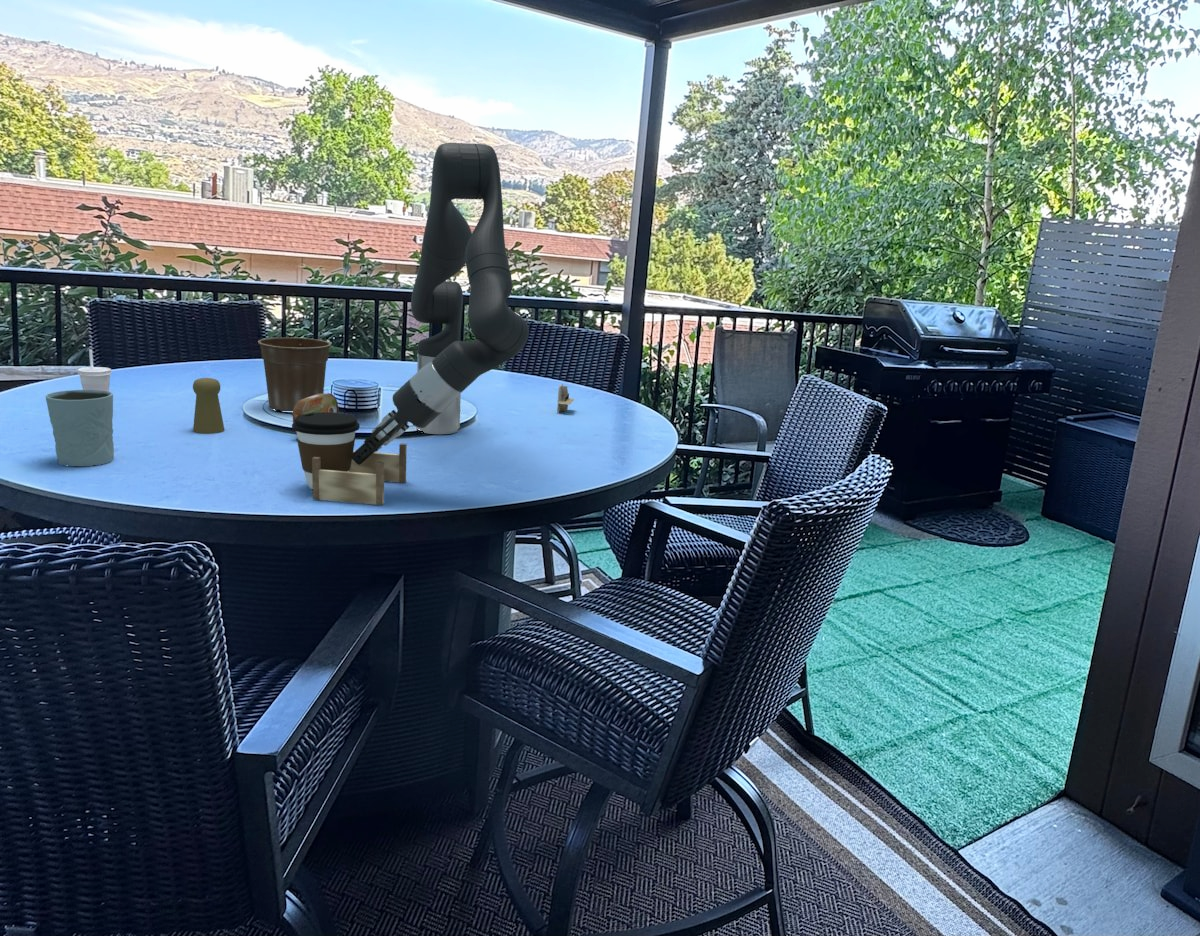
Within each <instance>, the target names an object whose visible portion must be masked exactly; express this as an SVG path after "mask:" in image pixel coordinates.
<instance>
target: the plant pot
mask: <svg viewBox="0 0 1200 936" xmlns="http://www.w3.org/2000/svg"><path fill="white" fill-rule="evenodd" d="M257 343H258V345H260V346H259V347H260V352H261V359H262V360H263V365H264V366H263V367H264V374H265V382H266V383H265V384H266V389H267V390H266V391H267V399H268V408H269V407H270V408H271V409H275V410H280V411H281V412H282V411H293V409H294V407H295V405H296V403H297V402H298V401H299V400H301V399H304V398H308V397H311V396H313V395H316V394H325V391H324V390H325V379H326V370H327V369H326V368H327V362H328V360H329V353H330V348H331V346H332V343H331V342H329V341H326V340H322V339H315V338H308V337H305V338H304V337H269V338H268V337H267V338H262V339H258V341H257ZM270 408H269V409H270ZM271 409H270V410H271Z"/></svg>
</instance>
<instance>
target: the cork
mask: <svg viewBox="0 0 1200 936" xmlns="http://www.w3.org/2000/svg"><path fill="white" fill-rule="evenodd" d="M192 390H193V392H194V393H195V406H194V416H193V426H192V431H193V432H194V434H195V433H196V434H204V435H205V434H206V435H207V434H209V435H213V434H220V433H223V432H225V424H224V420H223V415H222V409H221V403H220V397H219V393H220V392H221V383H220V382H219V380H217V378H212V377H202V378H196V379H195V380H194V381H193V384H192Z"/></svg>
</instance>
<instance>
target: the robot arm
mask: <svg viewBox="0 0 1200 936" xmlns="http://www.w3.org/2000/svg"><path fill="white" fill-rule="evenodd" d="M432 163H433V164H432V171H431V183H430V184H431V185H430V186H431V187H430V197H429V200H430V201H429V206H428V207H429V209H428V213H427V219H426V222H425V228H424V232H423V237H422V238H423V239H422V243H421V250H420V251H421V252H420V259H419V266H418V267H419V268H418V270H417V271H418V272H417V274H416V277H415V281H414V283H413V284H414V285H413V288H412V292H411V296H410V297H411V300H410V308H411V310H410V311H411V313H412V317H413V318H414V319H415V321H417V322H418V323H423V324H434V325H435V324H438V325H439V324H441V325H444V328H443V329H442V330H441V331H440V332H439V333H437V334H435V335H433V336H428V337H426V338H423V339H420V340H419V341H418V344H417V362H416V363H417V368H416V369H417V372H415V373H414V374H413V375H412V377H410V378H409V379H408V380H407V381H406V382H405V383H404V384H403V385H401V387H400V388H398V390H397V391H395V392H394V393H393V395H392V402H393V405H394V406H395V408H396V410H397V411H396V410H395V409H393V410H391V411H390V412H388V413H387V414H386V415H385V416H384V417H382V419H381V421H380V423H379V424H377V425H376V426H375V427H374V428H373V429H372V430H371V434H370V435H369V436H367V437H366V438H364V441H363V443H362V445H360V446H359V447H358V448H357V449H356V450H354V451H355V452H354V453H353V454H352V455H351V458H352V459H353V460H354V461H355V462H356V463H357V464H358V465H360V464H362V463H363V462H364V461H365V460H366V459H367V458H369V457H370V456H371V455H372V454H373V453H374V452H379V450H381V449H382V448H383V446H385V447H386V446H388V445H389V444H390V443H391V442H393V441H394V440H395V439H396V438H397V437H400V436H401V435H403V434H404V433H406V431H407V430H409V428H410V427H411V426H410V425H409V424H408V423H411V424H412V426H415V427H416V429H417V428H418V429H420V430H421V431H423V432H424V433H423V432H422V433H423V434H427V435H428V434H429V435H430V434H431V435H448V434H449V435H450V434H451V435H452V434H454V433H457V432H458V431H459V429H461V394H462V392H464V391H465V390H466V389H467V388H468V387H469V386H470V385H472V383H474V381H476V380H477V379H478V378H480V376H482V375H483V374H486V373H487V372H490V371H492V370H494V369H495V368H497V367H499V366H500V365H503V364H505V363H506V362H508V361H509V360H511V359H512V358H514V357H515V356H516V355H518V354H519V353H520V352H521V351H522V350H523V348H524V347H525V345H526V344H527V341H528V339H529V334H530V328H529V325H528V323H527V322H526V320H525V319H524V318H523V317H522V316H520V315H519V314H518V313H517V312H515V311H514V310H512V309H511V308H510V307H509V306H508V304H507V302H506V301H507V299H508V298H509V297H510V295H511V294H512V292H513V279H512V274H511V269H510V264H509V259H508V254H507V248H506V242H505V229H504V228H505V227H504V226H505V225H504V212H503V211H504V207H503V194H502V181H501V180H502V179H501V170H500V163H499V158H498V156H497V152H496V151H495V149H494V148H493V146H491V145H488V144H485V143H467V142H466V143H465V142H464V143H463V142H445V143H441V144H440V145H438V147H437V148H436V150H435V153H434V157H433V161H432ZM453 200H482V201H483V209H482V213H481V215H480V217H479V219H478V222H477V224H476V225H475V227H474V229H473V231H472V230H471V227H470V224H469V223H468V222H467V220H466V218H465V217H464V216H463V214H462V213H461V212H460V211H459V210H458V208H457V207H456V205H455V204H454V202H453ZM465 266H466V267H465ZM463 267H465V268H466V272H467V273H466V274H467V278H468V279H467V280H468V282H469V287H470V292H469V298H468V299H469V300H468V311H467V312H468V313H467V321H468V324H469V327H470V330H471V332H472V335H473V336H474V337H475V338H476V339H474V340H473V341H463V340H461V330H462V329H461V328H462V319H463V318H462V316H463V305H464V304H463V301H464V298H463V297H464V293H463V288H462V286H461V285H460V283H459V282H457V281H449V280H450V278H452V277H454V276H455V275H456V274H457V273H458V272H460V271H461V270H462V269H463Z"/></svg>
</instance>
